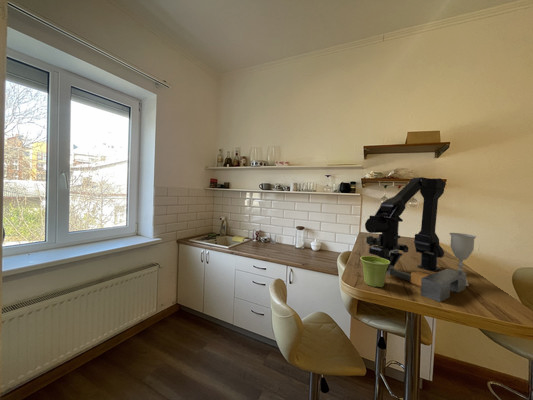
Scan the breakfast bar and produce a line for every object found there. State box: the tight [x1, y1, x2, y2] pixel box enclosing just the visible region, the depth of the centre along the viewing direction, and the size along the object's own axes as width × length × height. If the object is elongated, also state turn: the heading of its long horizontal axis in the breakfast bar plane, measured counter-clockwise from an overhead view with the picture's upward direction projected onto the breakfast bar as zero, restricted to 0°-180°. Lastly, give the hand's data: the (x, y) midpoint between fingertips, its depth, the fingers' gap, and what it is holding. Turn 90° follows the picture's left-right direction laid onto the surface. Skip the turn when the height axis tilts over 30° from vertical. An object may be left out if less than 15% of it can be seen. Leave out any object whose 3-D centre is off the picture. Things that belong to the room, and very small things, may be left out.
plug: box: [386, 265, 429, 287], centre depth 79 cm, size 16×4×4 cm, turn 30°
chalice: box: [449, 232, 477, 287], centre depth 77 cm, size 7×7×18 cm
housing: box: [420, 268, 467, 303], centre depth 69 cm, size 20×5×6 cm, turn 120°
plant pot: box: [360, 255, 390, 288], centre depth 73 cm, size 9×9×9 cm
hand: (388, 270), depth 85 cm, fingers closed on plug, 3 cm apart
